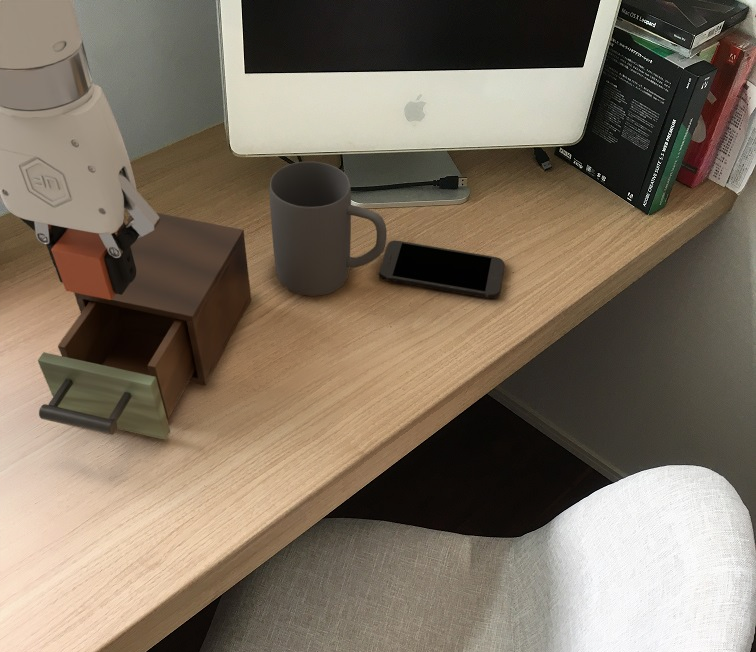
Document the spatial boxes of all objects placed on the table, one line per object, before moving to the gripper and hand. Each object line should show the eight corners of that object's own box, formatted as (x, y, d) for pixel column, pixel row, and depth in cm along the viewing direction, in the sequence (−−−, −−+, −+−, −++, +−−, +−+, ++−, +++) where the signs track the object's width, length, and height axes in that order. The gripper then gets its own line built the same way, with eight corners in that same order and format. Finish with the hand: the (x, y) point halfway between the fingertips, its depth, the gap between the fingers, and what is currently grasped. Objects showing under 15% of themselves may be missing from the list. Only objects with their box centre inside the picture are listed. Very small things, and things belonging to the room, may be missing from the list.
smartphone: (498, 300, 94) (500, 294, 94) (376, 280, 96) (377, 274, 95) (505, 263, 99) (506, 257, 98) (388, 244, 100) (388, 238, 99)
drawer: (145, 477, 76) (128, 424, 69) (36, 451, 77) (10, 397, 71) (214, 350, 86) (205, 293, 80) (118, 329, 88) (101, 272, 81)
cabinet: (205, 385, 84) (192, 316, 77) (97, 361, 86) (73, 291, 78) (251, 299, 93) (243, 229, 85) (151, 279, 94) (135, 208, 86)
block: (65, 291, 70) (50, 249, 66) (87, 261, 73) (74, 219, 69) (111, 300, 70) (98, 258, 66) (132, 270, 72) (121, 228, 69)
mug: (263, 287, 94) (255, 197, 84) (291, 243, 99) (286, 153, 89) (371, 314, 92) (375, 225, 82) (394, 267, 97) (400, 179, 88)
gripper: (-103, 77, 55) (-9, 287, 70) (122, 117, 53) (170, 324, 68) (-44, 30, 59) (33, 238, 74) (166, 65, 57) (202, 271, 72)
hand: (98, 277), depth 71 cm, fingers closed on block, 4 cm apart
